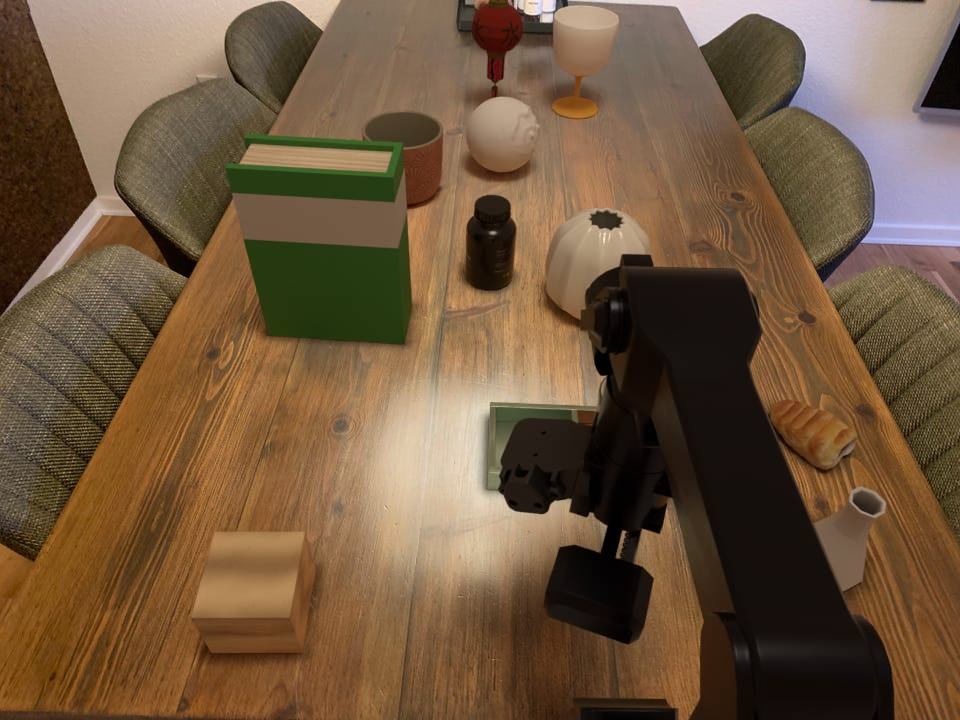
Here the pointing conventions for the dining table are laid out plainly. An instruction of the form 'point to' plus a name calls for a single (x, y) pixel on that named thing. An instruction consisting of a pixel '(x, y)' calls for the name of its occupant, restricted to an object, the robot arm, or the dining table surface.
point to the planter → (412, 148)
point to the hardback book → (326, 236)
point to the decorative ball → (502, 134)
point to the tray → (511, 413)
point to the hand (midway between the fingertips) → (603, 561)
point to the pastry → (813, 432)
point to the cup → (582, 51)
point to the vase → (589, 253)
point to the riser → (255, 593)
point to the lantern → (497, 35)
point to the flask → (850, 534)
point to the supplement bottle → (490, 243)
